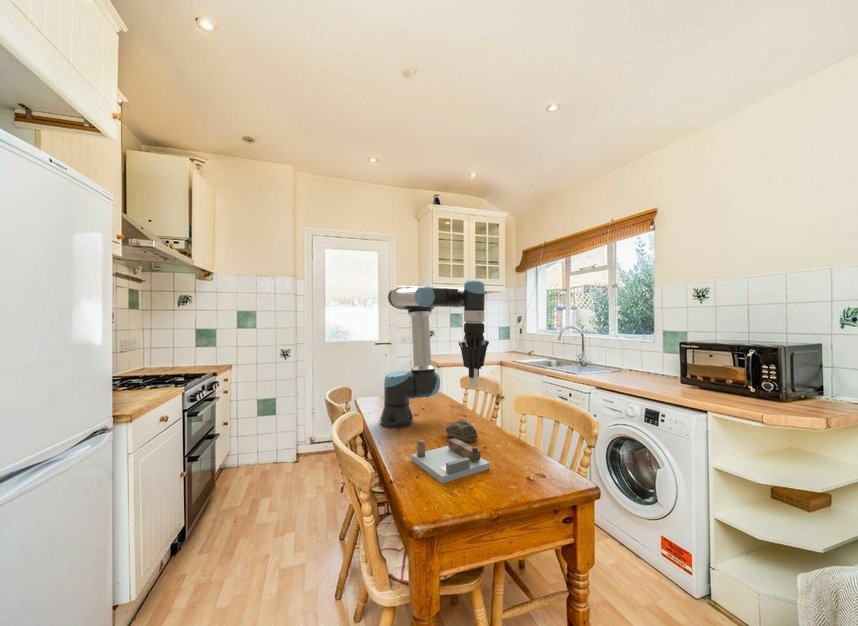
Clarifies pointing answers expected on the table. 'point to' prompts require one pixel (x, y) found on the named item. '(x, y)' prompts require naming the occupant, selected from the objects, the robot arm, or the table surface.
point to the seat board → (442, 460)
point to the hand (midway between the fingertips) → (473, 386)
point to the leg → (464, 449)
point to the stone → (462, 430)
